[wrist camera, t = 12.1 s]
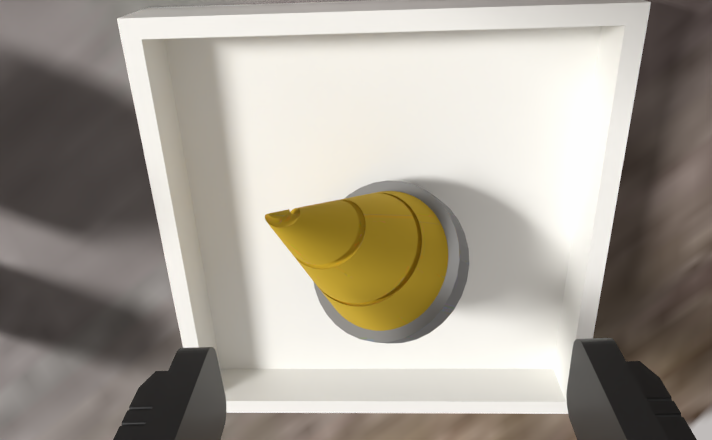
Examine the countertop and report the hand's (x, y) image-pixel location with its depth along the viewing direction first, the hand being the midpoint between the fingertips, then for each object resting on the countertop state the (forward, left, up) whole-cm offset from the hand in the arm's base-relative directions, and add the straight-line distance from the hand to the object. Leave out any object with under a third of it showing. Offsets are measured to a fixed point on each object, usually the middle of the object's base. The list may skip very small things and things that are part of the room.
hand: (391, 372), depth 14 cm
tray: (+1, 0, -10) cm, 10 cm away
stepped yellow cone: (+1, -1, -9) cm, 9 cm away
